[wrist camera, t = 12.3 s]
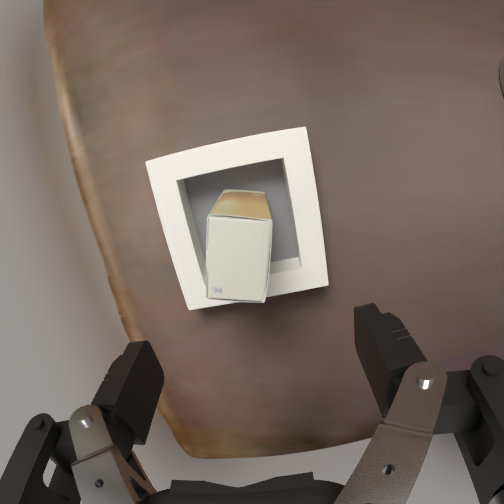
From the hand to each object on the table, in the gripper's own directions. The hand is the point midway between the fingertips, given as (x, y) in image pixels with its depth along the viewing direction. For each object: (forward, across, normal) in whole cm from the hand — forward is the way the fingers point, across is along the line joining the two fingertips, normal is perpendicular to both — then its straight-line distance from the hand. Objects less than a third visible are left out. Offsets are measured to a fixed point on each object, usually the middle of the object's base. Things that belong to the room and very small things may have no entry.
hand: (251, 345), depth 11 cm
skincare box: (+22, +1, 0) cm, 22 cm away
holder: (+22, +1, 0) cm, 22 cm away
